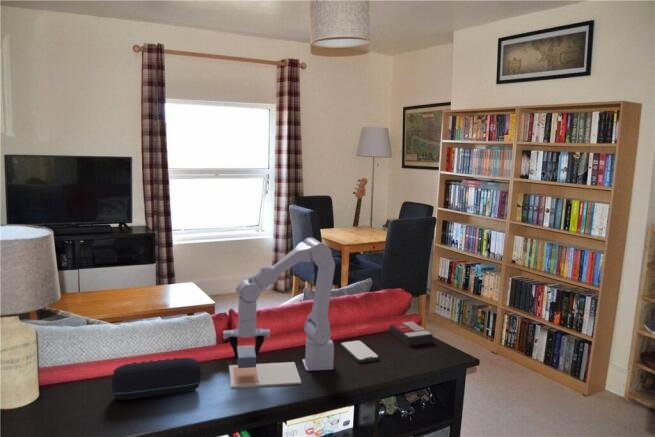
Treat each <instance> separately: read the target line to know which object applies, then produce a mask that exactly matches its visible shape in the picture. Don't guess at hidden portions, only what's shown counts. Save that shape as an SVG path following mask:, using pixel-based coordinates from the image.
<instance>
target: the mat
mask: <svg viewBox="0 0 655 437" xmlns="http://www.w3.org/2000/svg"><path fill="white" fill-rule="evenodd" d="M228 370H229V371H228V372H229V382H230V389H240V388H259V387H273V386H274V387H276V386H290V385H302V380H301V377H300V375H299V371H298V369H297V366H296V363H295V362H294V361H291V362H290V361H288V362H270V363H256V367H251V368H238V364H232V365H228Z"/></svg>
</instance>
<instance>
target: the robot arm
mask: <svg viewBox="0 0 655 437" xmlns="http://www.w3.org/2000/svg"><path fill="white" fill-rule="evenodd" d="M311 260H312V261H313V262H314V263H315V265H316V266H317V268H318V269H317V276H316V282H315V289H314V294H313V295H314V296H313V303H312V308H311V312H310V313H308V315H307V318H306V321H305V323H304V324H303V331H304V332H305V333H306V338H305V357H304V358H303V359H301V360H302V364H303V366H304V369H305V371H308V372H309V371H325V370H326V371H328V370H334V359H335V358H334V357H335V346H334V341H333V340H332V339H331V337H332V336H331V335H332V334H331V333H332V332H331V329H330V327H331V323H330V320H329V316H328V313H329V306H330V301H331V295H332V289H333V282H334V281H333V280H334V276H335V269H336V262H335V260H334V257H333V254H332V250H331V248H330V247H329V246H328V245H327V244H325V243H322V242H321V241H319V240H318V239H316V238H314V237H307V238H305V239H304V240H303V241H300V242H299V243H297V245H296V246H295V247H294V248H293V249H292V250H291V251H290V252H288V253H287V254H286V255H285V256H284V257H282V258H281V259H279V260H278V261H277V262H276V263H274V264H273V265H266V266H265V267H264V266H262V267H260V268H259V269H260V270H259V271H257V272H256V273H255V274H253V275H252V276H249V277H248V278H247V279H243V280H241V281H240V282H239V283H238V285H237V287H236V288H235V291H236V293H237V295H238V304H237V305H238V306H237V308H238V309H237V328H234V329H228V330H223V332H222V334H223V339H224V340H227V339H228V340H229V341H228V342H229V344H230V346H231V348H232V351H233V353H234V360H235V361H237V360H238V355H237V346H239V345H238V338H254V349H255V354H256V360H257V359H258V355H259V352H260V350H261V347H262V346H263V344H264V342H265V337H266V338H271V331H270V329H269V328H257V309H258V308H257V307H258V306H257V300H258V299H259V298H260V294H261V293H262V292H264V291H265V290H266V289H267V288H269V287H270V286H272V285H273V284H275V283H276V282H277V281H278V279H279V275H281V274H282V273H284V272H286V271H287V270H289V269H290V268H291V267H293V266H294V265H296V264H298V263H300V262H302V263H303V262H304V263H311Z"/></svg>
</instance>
